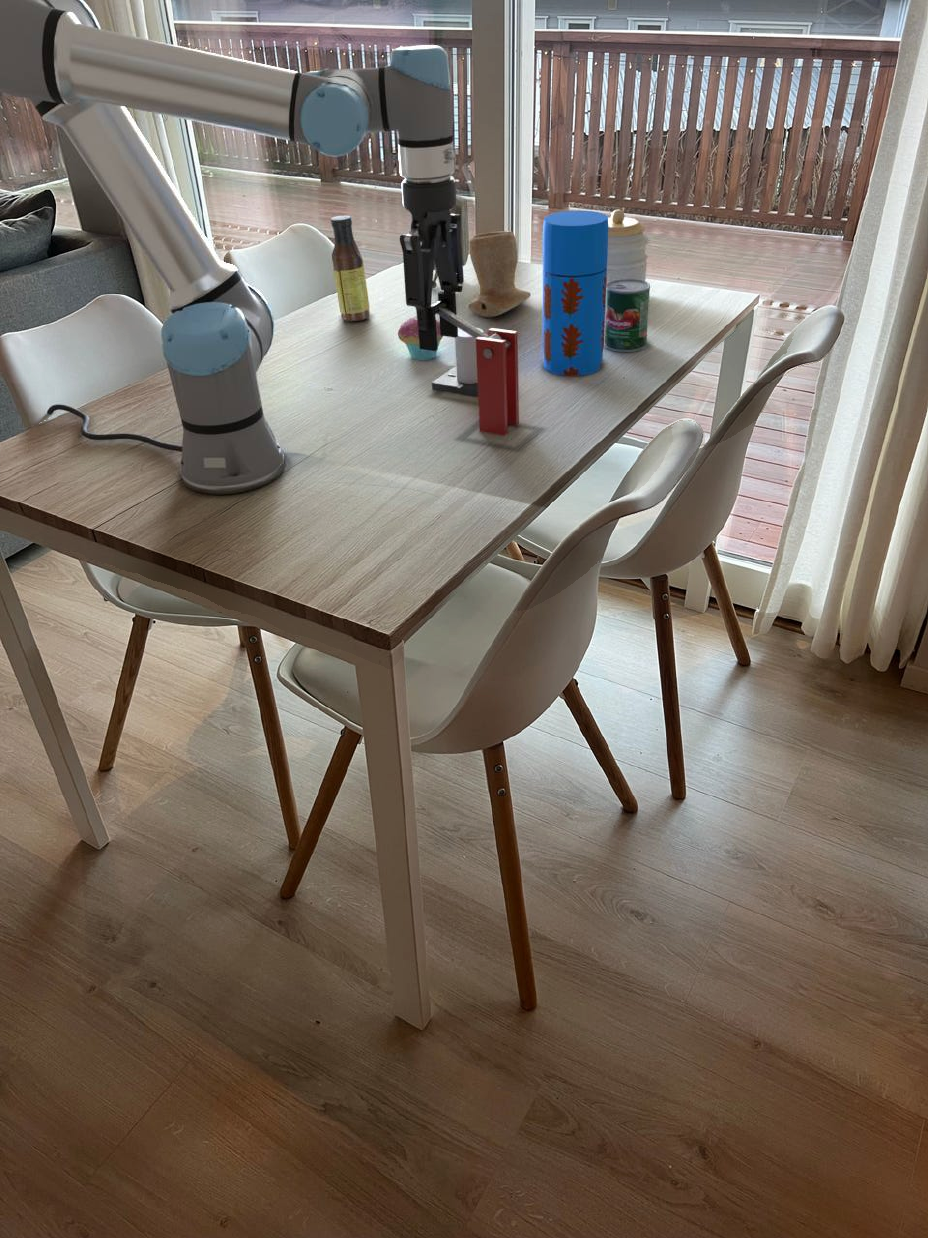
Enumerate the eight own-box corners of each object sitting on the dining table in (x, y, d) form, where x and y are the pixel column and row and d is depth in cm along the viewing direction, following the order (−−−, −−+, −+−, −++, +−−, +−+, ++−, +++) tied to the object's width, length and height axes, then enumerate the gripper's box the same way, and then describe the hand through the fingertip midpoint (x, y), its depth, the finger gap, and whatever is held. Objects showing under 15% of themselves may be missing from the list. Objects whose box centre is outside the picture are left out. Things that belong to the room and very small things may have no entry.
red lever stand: (459, 439, 145) (453, 339, 135) (483, 419, 150) (479, 322, 141) (517, 450, 141) (515, 348, 131) (539, 429, 146) (539, 330, 137)
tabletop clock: (432, 272, 219) (424, 155, 204) (470, 271, 218) (465, 154, 203) (424, 291, 207) (415, 169, 192) (464, 290, 206) (458, 167, 191)
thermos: (600, 377, 162) (606, 226, 147) (539, 375, 164) (539, 226, 149) (605, 354, 171) (611, 209, 156) (547, 353, 173) (547, 210, 158)
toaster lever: (421, 318, 138) (426, 304, 136) (440, 307, 141) (444, 293, 140) (493, 365, 136) (499, 351, 134) (510, 352, 140) (516, 338, 138)
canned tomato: (645, 337, 177) (649, 278, 171) (647, 351, 171) (651, 291, 164) (603, 337, 178) (605, 279, 171) (604, 352, 172) (606, 292, 165)
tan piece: (489, 294, 203) (487, 221, 195) (537, 300, 198) (537, 226, 189) (452, 314, 193) (448, 239, 184) (502, 322, 188) (500, 245, 179)
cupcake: (454, 354, 175) (451, 289, 168) (423, 367, 170) (417, 301, 163) (422, 344, 180) (417, 281, 173) (390, 357, 175) (384, 293, 168)
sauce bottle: (376, 315, 195) (365, 215, 184) (358, 324, 191) (346, 222, 180) (352, 311, 198) (340, 212, 187) (333, 320, 194) (320, 219, 183)
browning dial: (452, 381, 157) (449, 333, 152) (465, 371, 161) (463, 323, 156) (477, 385, 155) (474, 336, 150) (490, 375, 159) (488, 327, 154)
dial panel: (431, 397, 159) (430, 382, 157) (456, 378, 165) (455, 364, 163) (488, 407, 154) (487, 392, 152) (512, 387, 160) (511, 372, 159)
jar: (649, 306, 191) (655, 215, 181) (586, 309, 192) (588, 219, 181) (640, 287, 202) (645, 200, 191) (580, 290, 202) (582, 203, 192)
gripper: (416, 193, 120) (429, 366, 134) (483, 165, 133) (489, 325, 147) (368, 190, 123) (385, 359, 137) (438, 162, 136) (447, 320, 150)
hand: (439, 342), depth 142 cm, fingers closed on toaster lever, 5 cm apart
